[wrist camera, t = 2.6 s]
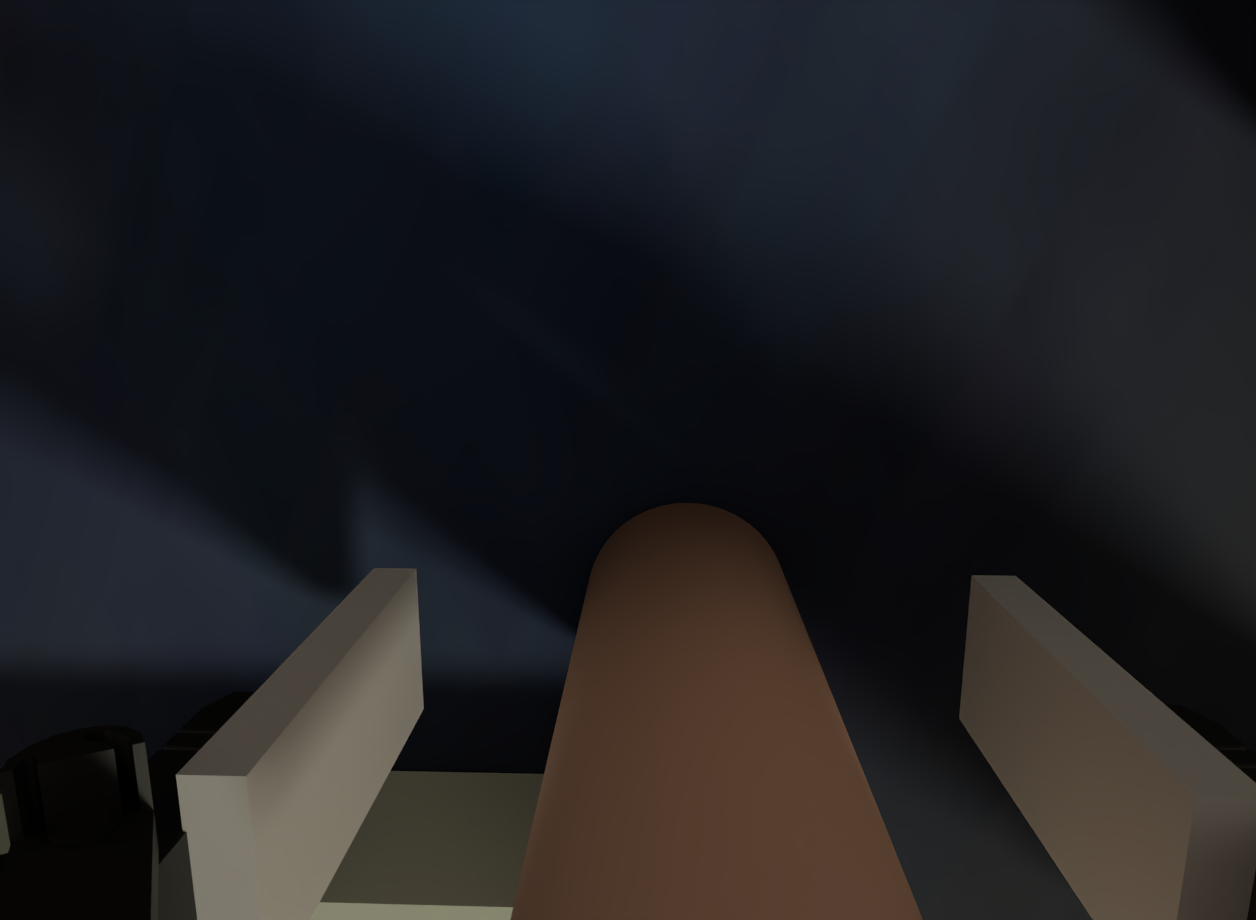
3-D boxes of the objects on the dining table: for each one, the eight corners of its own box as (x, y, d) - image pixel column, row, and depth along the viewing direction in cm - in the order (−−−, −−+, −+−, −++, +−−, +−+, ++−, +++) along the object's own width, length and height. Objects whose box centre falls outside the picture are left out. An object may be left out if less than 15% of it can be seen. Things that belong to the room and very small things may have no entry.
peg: (586, 501, 17) (433, 982, 6) (789, 503, 17) (1062, 1000, 6) (588, 687, 18) (458, 1439, 7) (781, 691, 18) (1004, 1465, 6)
